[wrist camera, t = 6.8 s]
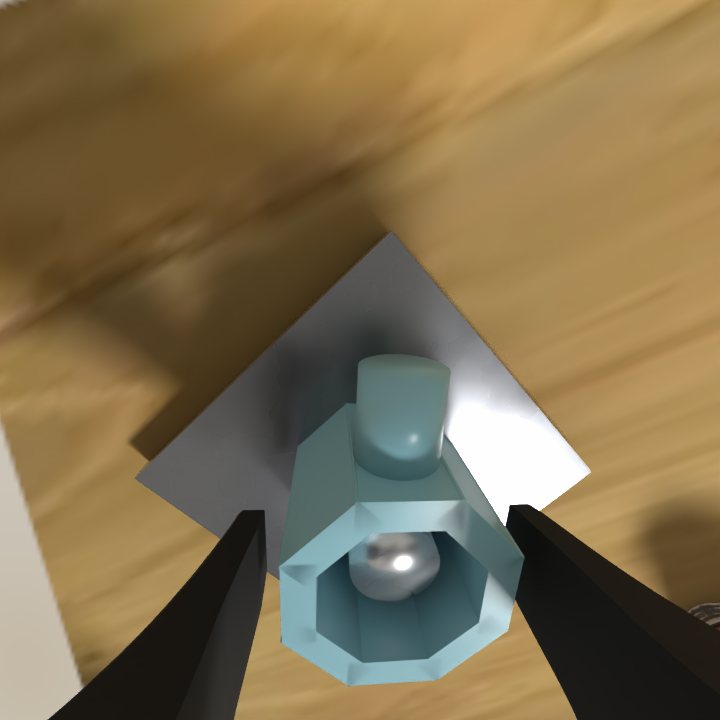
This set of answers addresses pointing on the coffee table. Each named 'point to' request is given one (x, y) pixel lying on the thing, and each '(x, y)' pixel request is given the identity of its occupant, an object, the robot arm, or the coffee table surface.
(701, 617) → the lighter
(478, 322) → the coffee table surface
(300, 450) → the elbow collar
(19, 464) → the coffee table surface
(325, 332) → the base
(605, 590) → the robot arm
